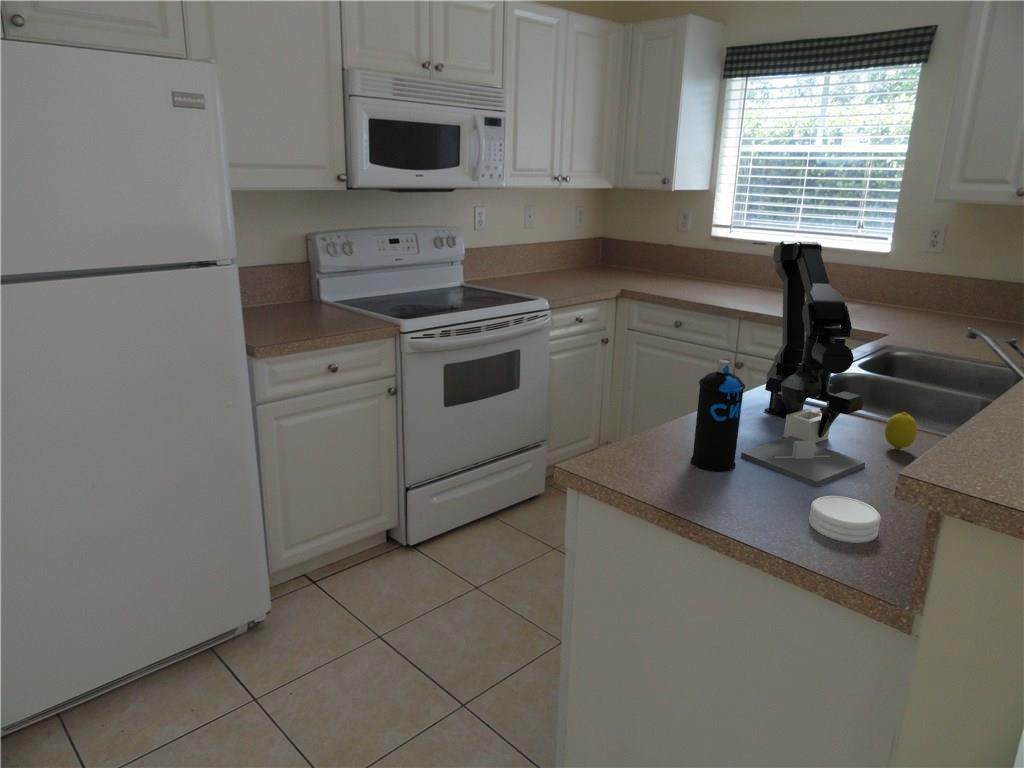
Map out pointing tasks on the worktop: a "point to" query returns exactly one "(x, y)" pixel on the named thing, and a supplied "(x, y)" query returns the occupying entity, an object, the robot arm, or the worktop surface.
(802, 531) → the worktop surface
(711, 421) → the aerosol can
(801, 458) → the grey peg base plate
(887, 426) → the lemon
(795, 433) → the square tube sleeve
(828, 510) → the white round flat disc
